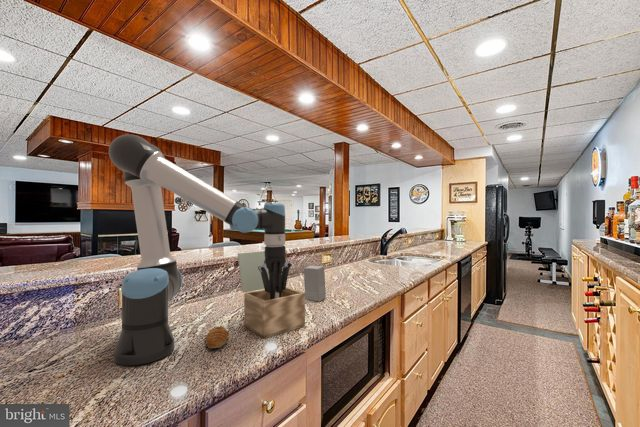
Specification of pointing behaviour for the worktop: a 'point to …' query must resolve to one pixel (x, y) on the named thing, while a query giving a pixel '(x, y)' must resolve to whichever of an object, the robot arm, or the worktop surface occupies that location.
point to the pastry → (216, 337)
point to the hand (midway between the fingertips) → (275, 310)
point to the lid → (251, 270)
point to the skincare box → (314, 283)
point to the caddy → (274, 312)
